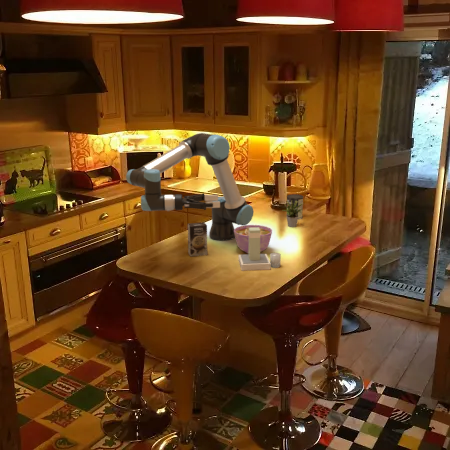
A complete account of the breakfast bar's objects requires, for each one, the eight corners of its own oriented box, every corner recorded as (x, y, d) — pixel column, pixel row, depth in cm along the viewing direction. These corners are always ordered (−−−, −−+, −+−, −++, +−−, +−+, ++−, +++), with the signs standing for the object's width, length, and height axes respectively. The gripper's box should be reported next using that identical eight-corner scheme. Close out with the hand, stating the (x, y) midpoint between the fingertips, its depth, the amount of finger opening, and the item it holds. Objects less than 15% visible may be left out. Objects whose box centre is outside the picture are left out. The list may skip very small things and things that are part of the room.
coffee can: (290, 220, 338) (290, 198, 334) (283, 216, 347) (284, 195, 343) (305, 218, 341) (306, 197, 337) (298, 214, 350) (299, 193, 346)
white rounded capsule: (269, 264, 264) (269, 252, 262) (279, 264, 264) (279, 252, 262) (270, 268, 259) (271, 256, 257) (281, 267, 259) (281, 255, 257)
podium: (238, 260, 269) (238, 254, 268) (266, 259, 270) (266, 253, 269) (241, 270, 256) (241, 263, 255) (270, 269, 257) (270, 262, 256)
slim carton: (248, 256, 264) (248, 227, 260) (258, 256, 265) (258, 227, 260) (249, 260, 259) (249, 230, 255) (260, 259, 260) (260, 230, 256)
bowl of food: (262, 243, 295) (262, 223, 291) (278, 254, 277) (279, 233, 274) (228, 248, 288) (228, 227, 284) (242, 259, 270) (242, 238, 267)
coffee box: (190, 256, 275) (189, 226, 270) (188, 252, 281) (187, 223, 276) (207, 255, 277) (207, 225, 273) (204, 251, 283) (204, 221, 279)
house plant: (304, 230, 317) (305, 203, 312) (280, 229, 319) (281, 203, 314) (304, 223, 330) (305, 198, 326) (282, 222, 332) (282, 197, 328)
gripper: (174, 203, 267) (217, 202, 269) (174, 216, 243) (220, 215, 245) (174, 188, 265) (217, 187, 266) (173, 200, 241) (220, 199, 243)
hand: (219, 200), depth 256 cm, fingers open, 13 cm apart
